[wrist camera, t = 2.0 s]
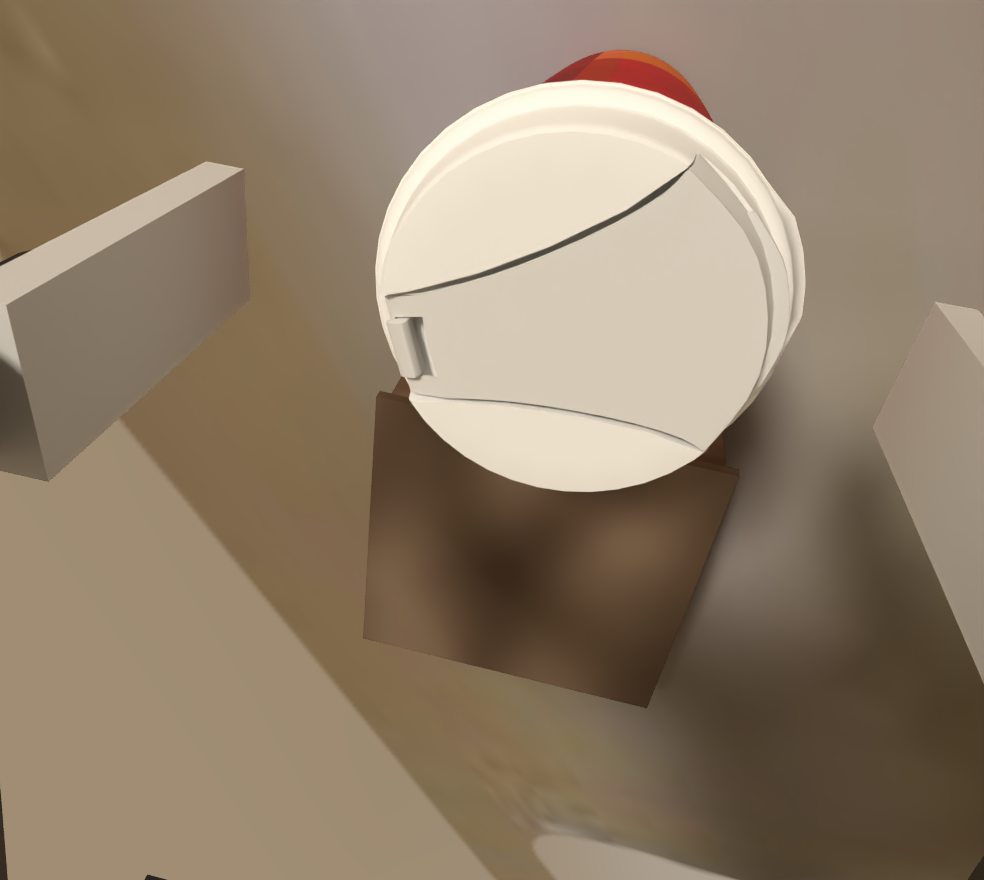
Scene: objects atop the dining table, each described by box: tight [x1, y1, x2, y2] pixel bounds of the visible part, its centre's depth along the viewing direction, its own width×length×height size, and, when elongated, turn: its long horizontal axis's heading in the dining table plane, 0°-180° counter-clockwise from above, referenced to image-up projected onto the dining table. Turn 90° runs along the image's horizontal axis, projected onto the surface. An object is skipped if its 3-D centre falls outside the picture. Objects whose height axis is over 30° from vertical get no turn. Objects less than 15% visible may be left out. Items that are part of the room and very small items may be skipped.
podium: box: [363, 377, 739, 708], centre depth 32 cm, size 13×13×4 cm
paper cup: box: [375, 50, 806, 492], centre depth 19 cm, size 8×8×14 cm
